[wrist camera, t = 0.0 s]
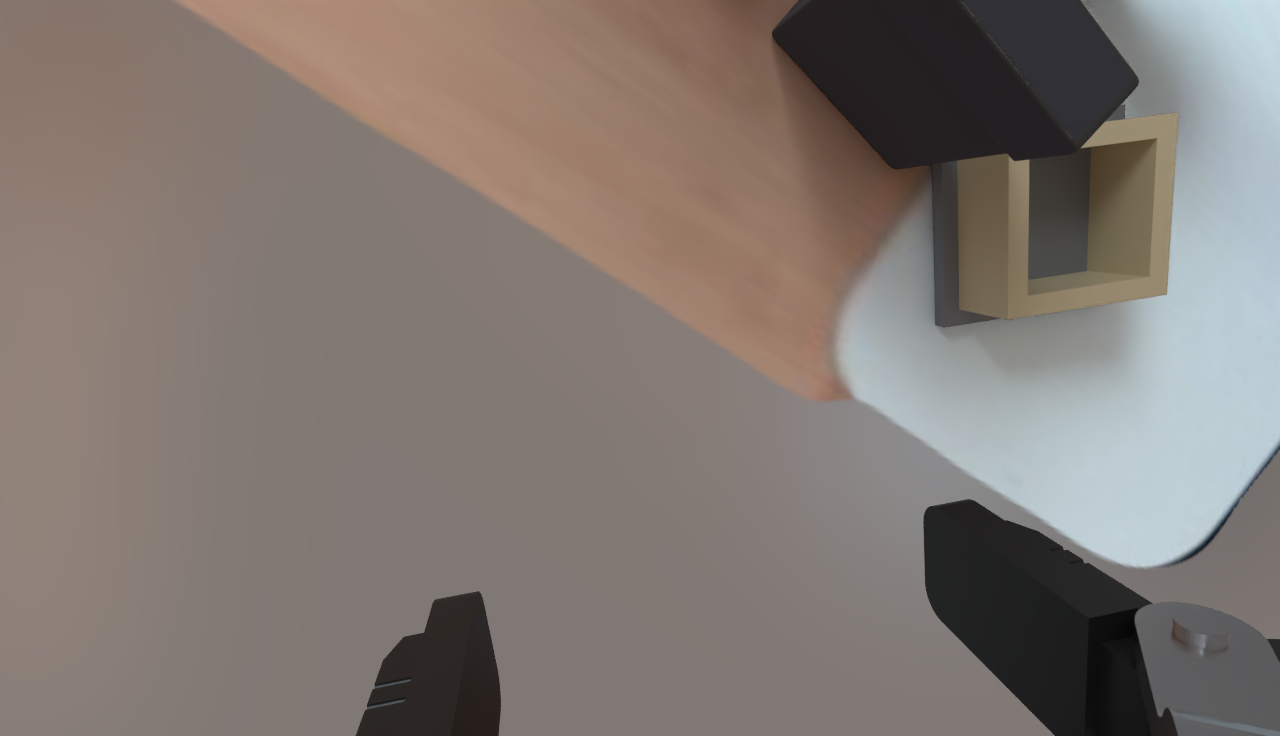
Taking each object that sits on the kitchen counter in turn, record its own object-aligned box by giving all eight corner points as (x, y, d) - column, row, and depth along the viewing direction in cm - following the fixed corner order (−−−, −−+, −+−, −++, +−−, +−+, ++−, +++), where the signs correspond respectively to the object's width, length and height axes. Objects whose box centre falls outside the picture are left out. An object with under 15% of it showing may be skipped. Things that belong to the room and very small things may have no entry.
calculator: (935, 124, 40) (1160, 68, 25) (886, 178, 40) (1080, 155, 25) (813, -18, 37) (986, -171, 22) (761, 42, 37) (899, -71, 23)
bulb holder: (931, 130, 40) (991, 115, 34) (1111, 107, 41) (1196, 90, 36) (935, 324, 42) (991, 339, 37) (1103, 298, 44) (1181, 308, 38)
